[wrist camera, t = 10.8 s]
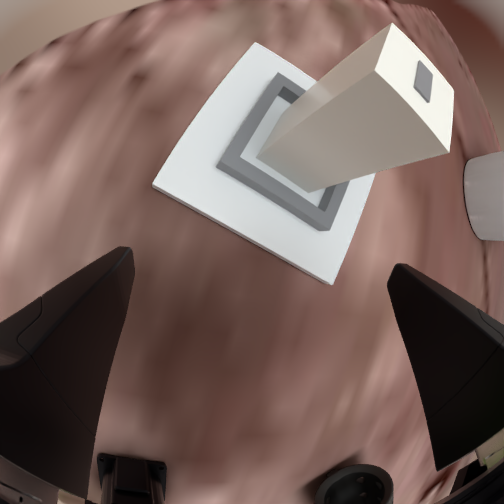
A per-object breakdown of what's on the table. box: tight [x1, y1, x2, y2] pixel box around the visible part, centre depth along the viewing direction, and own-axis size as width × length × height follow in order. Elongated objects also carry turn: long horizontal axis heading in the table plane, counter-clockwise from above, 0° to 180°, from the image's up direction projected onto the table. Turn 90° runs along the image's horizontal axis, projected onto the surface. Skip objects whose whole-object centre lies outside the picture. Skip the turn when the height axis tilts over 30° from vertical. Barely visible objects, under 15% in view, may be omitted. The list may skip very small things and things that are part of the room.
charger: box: [256, 23, 454, 193], centre depth 15 cm, size 5×5×13 cm
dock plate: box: [152, 42, 375, 285], centre depth 21 cm, size 16×16×3 cm
